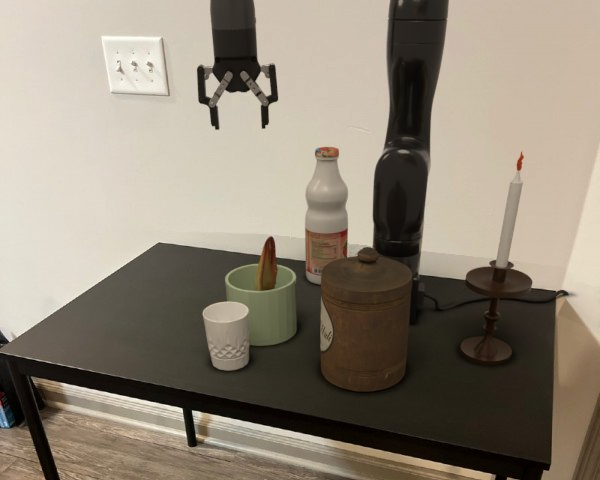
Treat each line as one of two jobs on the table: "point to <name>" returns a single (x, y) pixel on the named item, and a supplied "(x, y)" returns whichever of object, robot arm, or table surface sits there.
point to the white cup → (227, 334)
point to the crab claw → (267, 267)
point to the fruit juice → (325, 215)
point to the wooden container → (364, 321)
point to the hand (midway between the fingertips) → (240, 128)
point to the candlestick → (497, 286)
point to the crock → (265, 304)
